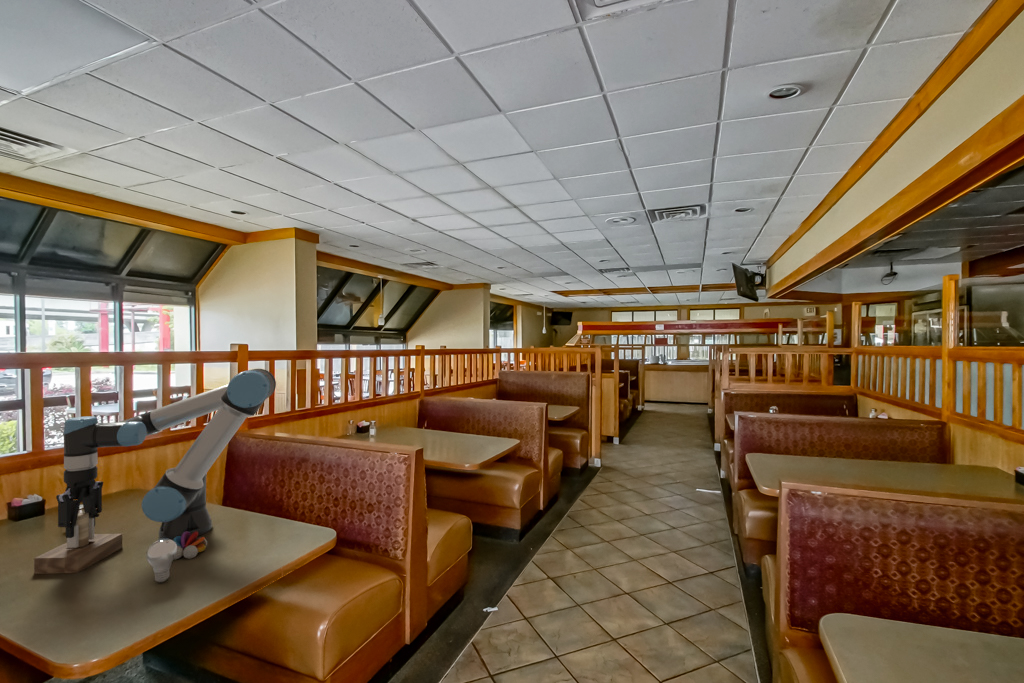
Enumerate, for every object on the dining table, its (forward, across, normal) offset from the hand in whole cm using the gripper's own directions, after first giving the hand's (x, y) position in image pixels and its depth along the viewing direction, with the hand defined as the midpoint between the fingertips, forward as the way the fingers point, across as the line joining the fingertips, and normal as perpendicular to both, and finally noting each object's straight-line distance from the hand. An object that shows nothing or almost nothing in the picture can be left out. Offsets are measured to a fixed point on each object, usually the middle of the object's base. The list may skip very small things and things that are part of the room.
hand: (80, 542), depth 139 cm
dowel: (+5, 0, 0) cm, 5 cm away
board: (+5, 0, 0) cm, 5 cm away
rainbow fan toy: (+6, -2, +30) cm, 31 cm away
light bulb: (+5, +14, +34) cm, 37 cm away
